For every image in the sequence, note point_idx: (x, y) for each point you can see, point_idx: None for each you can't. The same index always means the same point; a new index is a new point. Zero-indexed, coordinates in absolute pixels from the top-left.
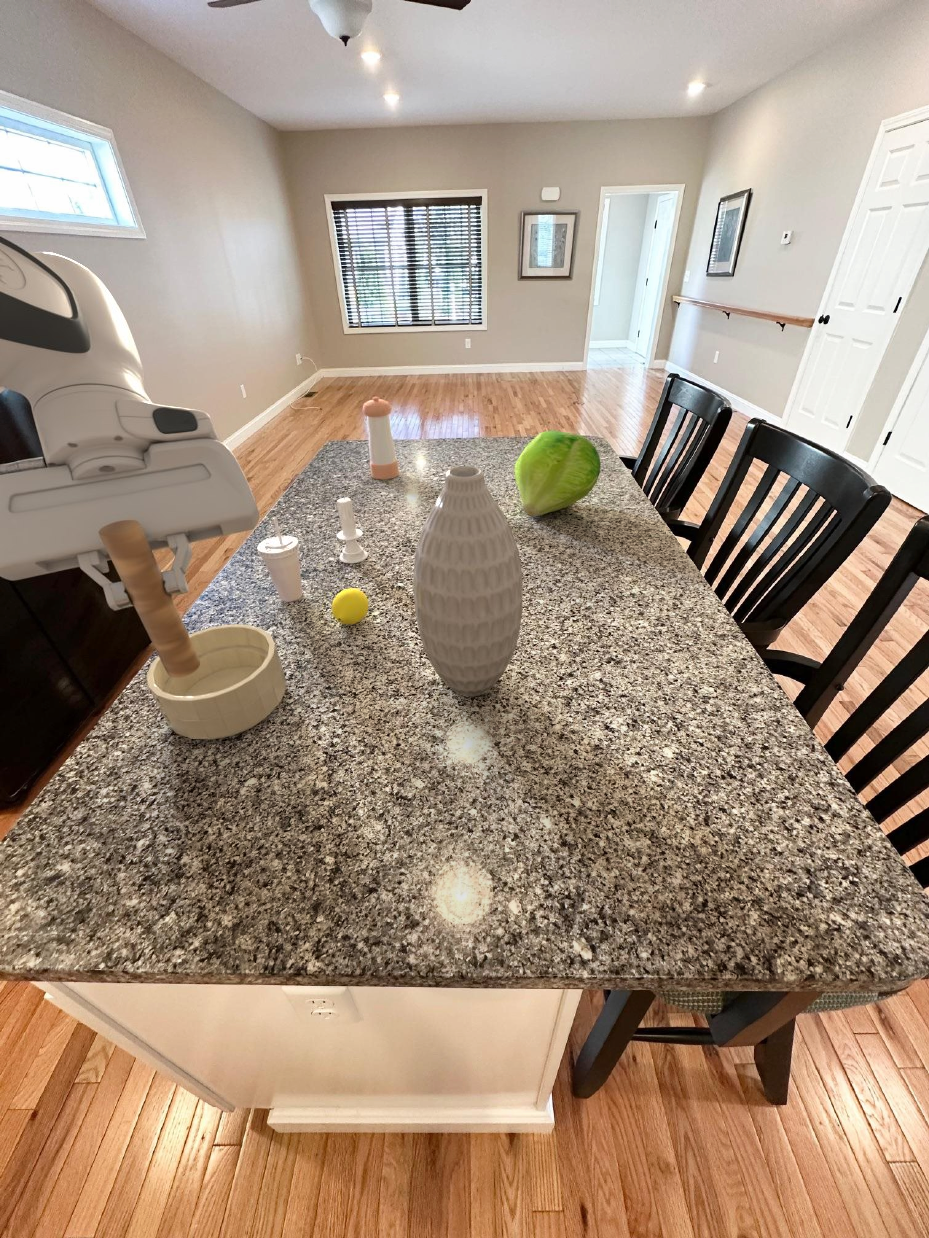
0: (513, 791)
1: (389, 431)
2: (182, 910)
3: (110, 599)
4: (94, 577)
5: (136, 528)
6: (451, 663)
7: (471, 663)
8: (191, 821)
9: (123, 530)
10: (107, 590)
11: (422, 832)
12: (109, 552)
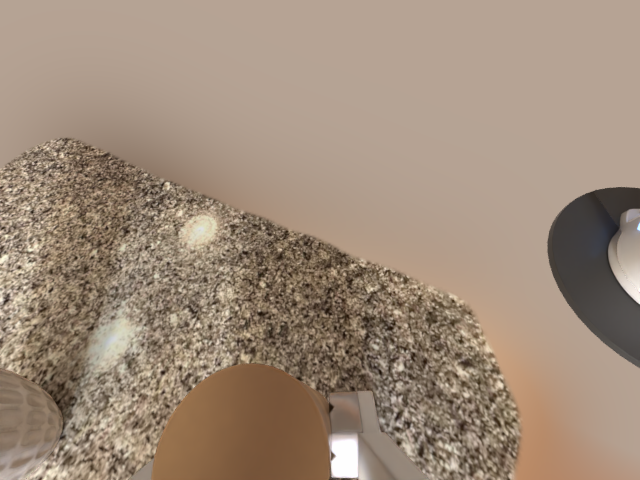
0: (120, 278)
1: None
2: (362, 290)
3: (365, 395)
4: (400, 457)
5: (177, 406)
6: (22, 389)
7: (6, 371)
8: (359, 371)
9: (225, 398)
10: (369, 417)
11: (196, 276)
12: (318, 401)
